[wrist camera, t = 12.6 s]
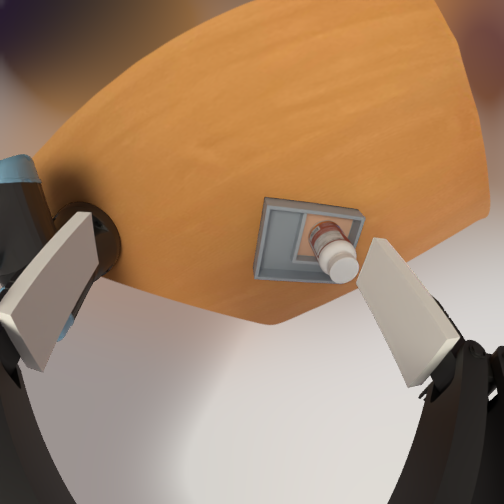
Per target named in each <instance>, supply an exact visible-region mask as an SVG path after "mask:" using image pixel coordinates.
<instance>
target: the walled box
mask: <svg viewBox="0 0 504 504" xmlns="http://www.w3.org/2000/svg"><path fill="white" fill-rule="evenodd" d="M324 220H330V221H333V222H335V223H336V224H338V226H339V227H340V228H341V229H342V231H343V232H344V234H345V235H346V237H347V238H348V239H349V241H350V242H351V244H352V245H353V247H354V249H355V248H356V245H357V242H358V239H359V236H360V233H361V230H362V227H363V224H364V221H365V217H364V216H363V215H362V213H361V212H360V211H359V210H358V209H352V208H345V207H339V206H332V205H325V204H318V203H310V202H302V201H295V200H286V199H278V198H269V197H265V198H264V204H263V210H262V216H261V222H260V228H259V234H258V240H257V246H256V253H255V259H254V265H253V272H254V279H261V280H277V281H294V282H312V283H333V284H340V283H336V282H334V281H332V279H331V278H330V276H329V275H328V274H326V273H325V272H323V270H322V269H321V267H320V266H319V263H318V261H317V259H316V257H315V254H314V252H313V250H312V248H311V246H310V244H309V240H308V235H309V232H310V230H311V228H312V227H313V226H314V225H315V224H316V223H318V222H320V221H324ZM342 284H343V283H342Z"/></svg>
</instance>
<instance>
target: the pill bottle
mask: <svg viewBox="0 0 504 504" xmlns="http://www.w3.org/2000/svg"><path fill="white" fill-rule="evenodd" d="M308 240H309V244H310V246H311V248H312V250H313V252H314V254H315V257H316V259H317V261H318V263H319V266H320V267H321V269H322V270H323V272H325V273H326V274H328V275H329V276H330V278H331V279H332V281H334V282H336V283H340V284H342V283H347V282H349V281H351V280H352V279H353V278H354V277H355V276H356V275H357V273H358V271H359V264H358V262H357V260H356V251H355V249H354V247H353V245H352V244H351V242H350V241H349V239H348V238H347V237H346V235H345V234H344V232H343V231H342V229H341V228H340V227H339V226H338V224H336V223H335V222H333V221H330V220H324V221H320V222H318V223H316V224H315V225H314V226H313V227H312V228H311V230H310V232H309V235H308Z"/></svg>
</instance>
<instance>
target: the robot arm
mask: <svg viewBox="0 0 504 504" xmlns="http://www.w3.org/2000/svg"><path fill="white" fill-rule="evenodd" d="M41 183H42V182H41V180H40V179H39V177H38V174H37V171H36V168H35V165H34V162H33V160H32V158H31V157H30V156H28V155H25V154H21V155H16V156H12V157H9V158H6V159H3V160H0V283H1V286H2V288H1V289H0V504H76V502H75V501H74V499H73V497H72V496H71V494H70V492H69V491H68V489H67V487H66V485H65V483H64V482H63V480H62V478H61V476H60V474H59V472H58V470H57V468H56V466H55V464H54V462H53V460H52V458H51V456H50V453H49V451H48V449H47V447H46V444H45V442H44V440H43V438H42V435H41V432H40V430H39V427H38V425H37V422H36V419H35V416H34V414H33V410H32V407H31V404H30V401H29V398H28V395H27V392H26V388H25V384H24V381H23V377H22V374H21V370H20V368H19V366H18V364H17V363H18V361H19V359H20V357H21V358H22V360H23V362H24V363H25V364H26V366H27V367H28V368H31V369H34V370H37V371H40V372H43V371H44V369H45V366H46V364H47V362H48V360H49V357H50V355H51V353H52V351H53V348H54V346H55V344H56V342H58V341H60V340H62V339H63V338H64V337H65V335H66V333H67V332H68V330H69V328H70V326H72V325H73V323H74V320H75V318H76V316H77V314H78V311H79V309H80V307H81V305H82V303H83V301H84V299H85V297H86V295H87V293H88V291H89V289H90V288H91V286H92V284H93V282H95V281H96V280H97V279H99V278H100V277H101V276H103V275H104V274H106V273H107V272H109V271H110V269H111V268H112V267H113V266H114V264H115V262H116V260H117V258H118V256H119V253H120V237H119V234H118V231H117V229H116V227H115V225H114V223H113V222H112V220H111V219H110V218H109V216H108V215H107V214H106V213H105V212H103V211H102V210H101V209H99V208H98V207H96V206H94V205H92V204H89V203H85V202H74V203H70V204H68V205H66V206H65V207H63V208H62V209H61V210H60V211H59V212H58V213H57V214H56V215H55V217H54V218H53V219H52V216H51V213H50V211H49V208H48V205H47V202H46V198H45V195H44V192H43V189H42V185H41ZM356 284H357V286H358V288H359V290H360V291H361V293H362V295H363V297H364V299H365V301H366V303H367V305H368V306H369V308H370V310H371V312H372V314H373V316H374V318H375V320H376V322H377V324H378V326H379V328H380V330H381V332H382V334H383V336H384V338H385V340H386V342H387V344H388V346H389V348H390V350H391V352H392V354H393V356H394V358H395V361H396V363H397V365H398V367H399V369H400V371H401V374H402V376H403V378H404V380H405V383H406V385H407V387H408V388H409V387H413V386H418V385H422V384H423V382H424V381H425V380H426V379H427V378H428V377H429V376H431V378H432V380H433V381H432V382H431V383H430V384H429V385H428V387H427V388H426V389H425V390H424V391H423V392H422V393H421V394H420V396H419V399H421V397H423V396H424V394H427V395H426V398H425V399H424V401H425V403H424V407H423V411H422V414H421V418H420V421H419V424H418V428H417V431H416V434H415V437H414V440H413V443H412V446H411V449H410V452H409V455H408V458H407V460H406V462H405V465H404V468H403V470H402V473H401V475H400V477H399V480H398V482H397V484H396V487H395V489H394V491H393V493H392V495H391V498H390V500H389V502H388V504H504V346H499V347H498V348H497V349H496V351H495V352H494V353H493V354H488V353H486V352H485V350H484V348H483V347H482V346H481V345H480V344H479V343H477V342H476V341H473V340H467V341H465V339H464V338H463V336H462V335H461V333H460V331H459V330H458V329H457V327H456V326H455V324H454V323H453V321H452V320H451V318H449V316H448V314H447V313H446V311H444V309H443V307H442V306H441V304H440V303H439V302H438V301H437V300H436V299H435V298H434V297H433V296H432V295H431V294H430V293H429V292H428V290H427V289H426V288H425V286H424V285H423V284H422V282H421V281H420V280H419V279H418V277H417V276H416V275H415V274H414V272H413V271H412V270H411V268H410V267H409V266H408V265H407V263H406V262H405V261H404V260H403V259H402V257H401V256H400V255H399V254H398V253H397V251H396V250H395V249H394V248H393V247H392V245H391V244H390V243H389V242H388V241H387V240H386V239H382V238H374V237H373V240H372V243H371V245H370V248H369V251H368V254H367V256H366V259H365V261H364V264H363V266H362V269H361V272H360V274H359V276H358V279H357V281H356ZM496 388H497V392H498V394H497V395H496V396H495V397H494V398H493V399H492V400H490V401H489V399H488V396H489V395H490V394H491V393H492V392H493V391H494V390H495V389H496Z"/></svg>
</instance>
